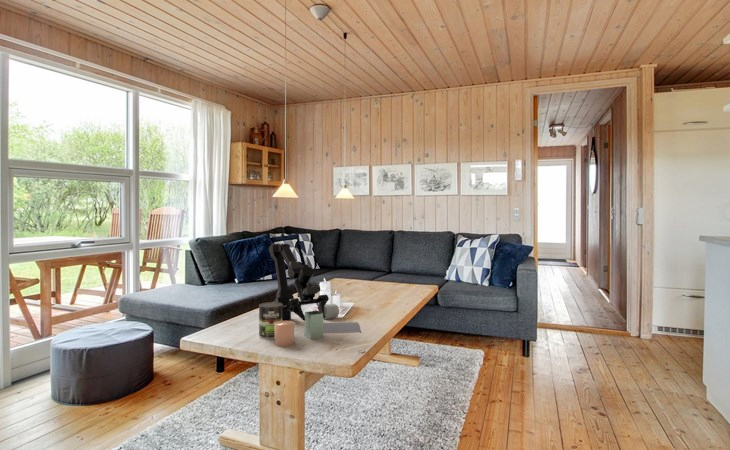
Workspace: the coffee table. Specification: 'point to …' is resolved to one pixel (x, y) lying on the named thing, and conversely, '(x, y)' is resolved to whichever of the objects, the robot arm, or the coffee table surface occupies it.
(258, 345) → the coffee table surface
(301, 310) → the robot arm
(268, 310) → the coffee can
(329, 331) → the mat
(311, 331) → the tin
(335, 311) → the ceramic mug
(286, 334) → the pink rounded cylinder
